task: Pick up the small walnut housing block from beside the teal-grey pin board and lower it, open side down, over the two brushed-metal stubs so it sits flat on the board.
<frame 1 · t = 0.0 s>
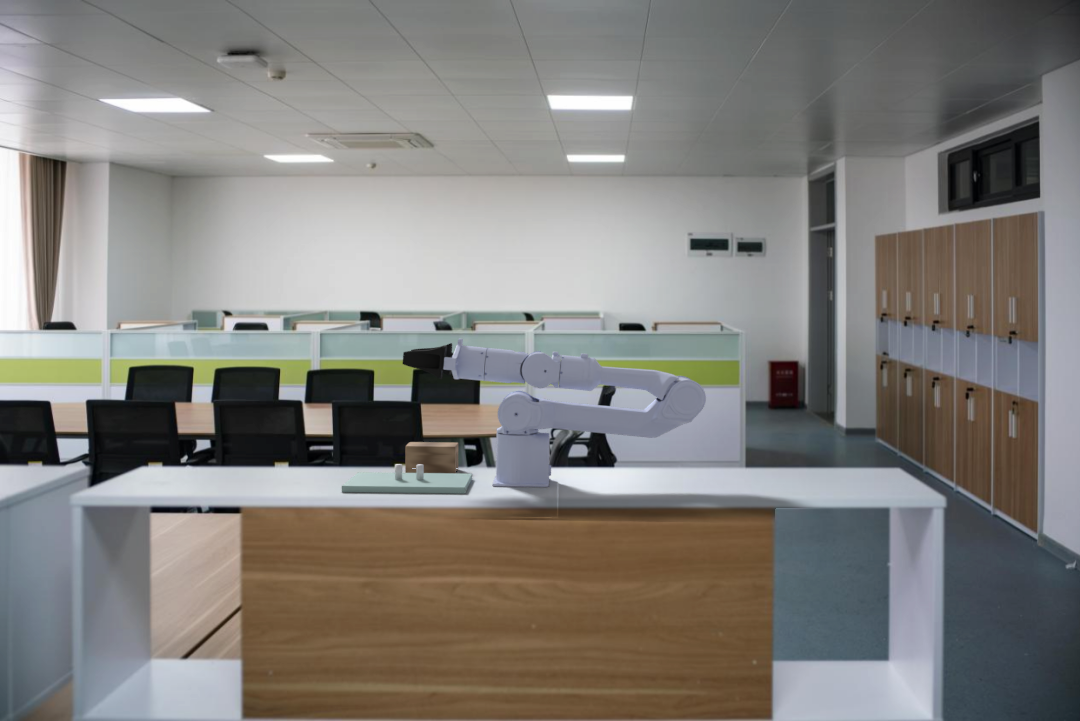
hand: (407, 356, 153), 22 cm above the table, tool horizontal, fingers open, 7 cm apart
pin board: (409, 485, 150), on the table
housing: (432, 471, 163), on the table
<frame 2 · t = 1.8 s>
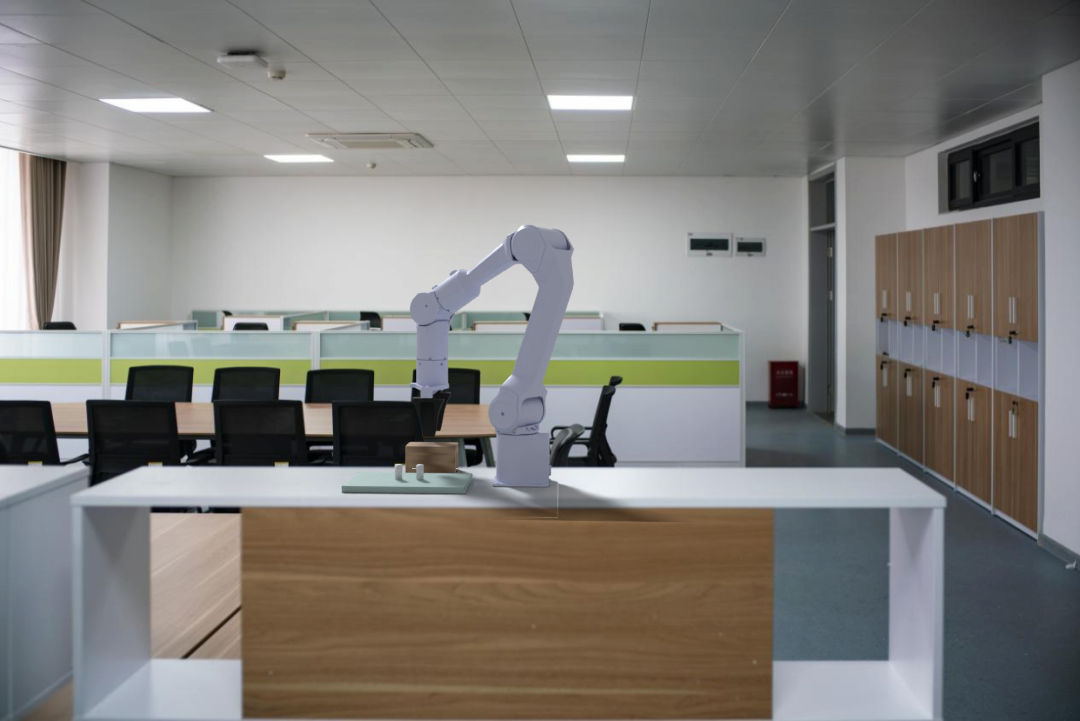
hand: (432, 433, 162), 7 cm above the table, tool pointing down, fingers open, 7 cm apart
nothing on the table moved.
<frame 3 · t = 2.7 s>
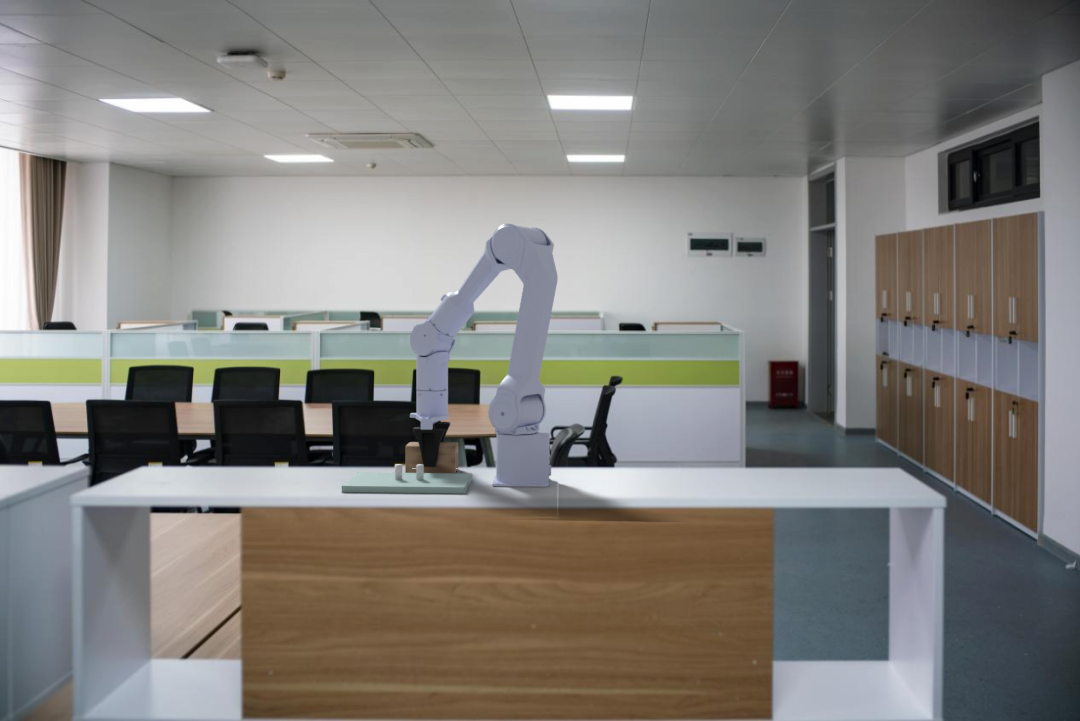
hand: (432, 463, 163), 1 cm above the table, tool pointing down, fingers closed on housing, 5 cm apart
housing: (432, 471, 163), on the table, touching gripper
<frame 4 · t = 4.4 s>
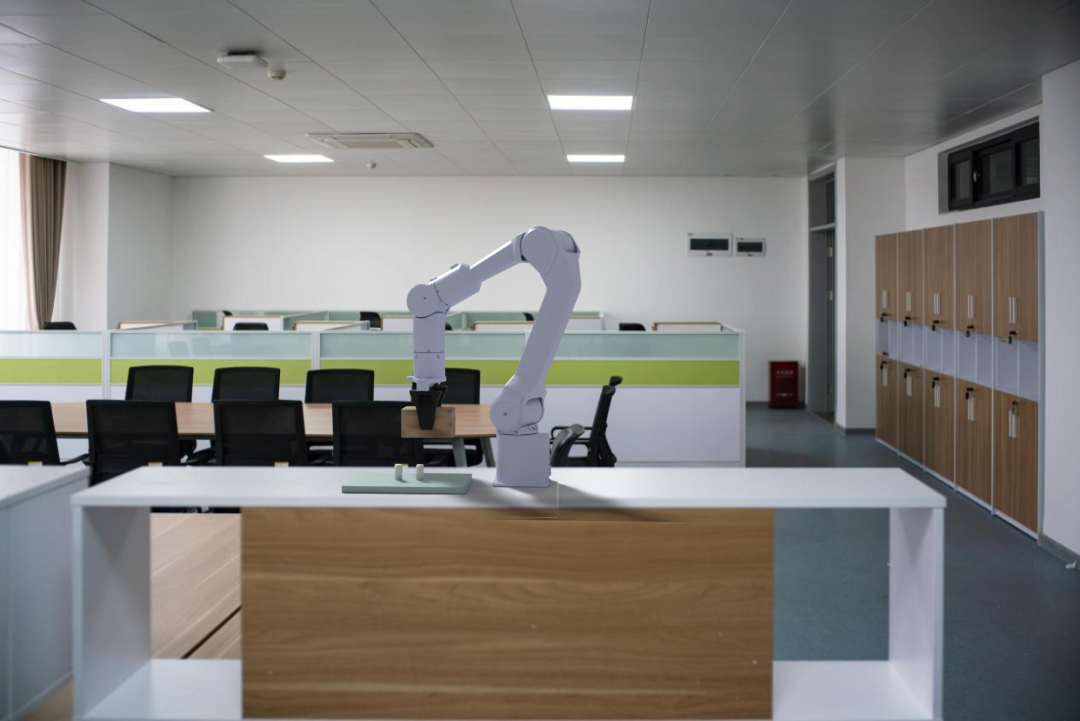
hand: (429, 427, 160), 8 cm above the table, tool pointing down, fingers closed on housing, 5 cm apart
housing: (428, 435, 160), point 7 cm above the table, touching gripper
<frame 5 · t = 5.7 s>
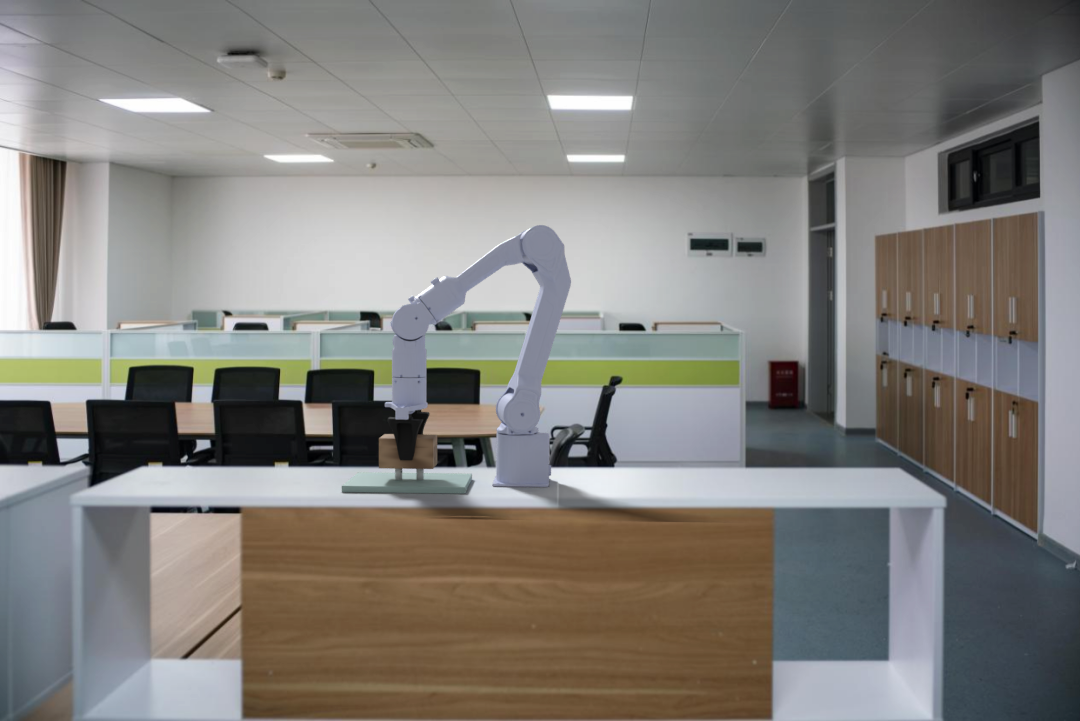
hand: (409, 457, 149), 5 cm above the table, tool pointing down, fingers closed on housing, 5 cm apart
housing: (408, 465, 150), point 3 cm above the table, touching gripper
when the fingers open (4 cm above the table, at t = 6.4 s): housing drops 1 cm, resting on pin board.
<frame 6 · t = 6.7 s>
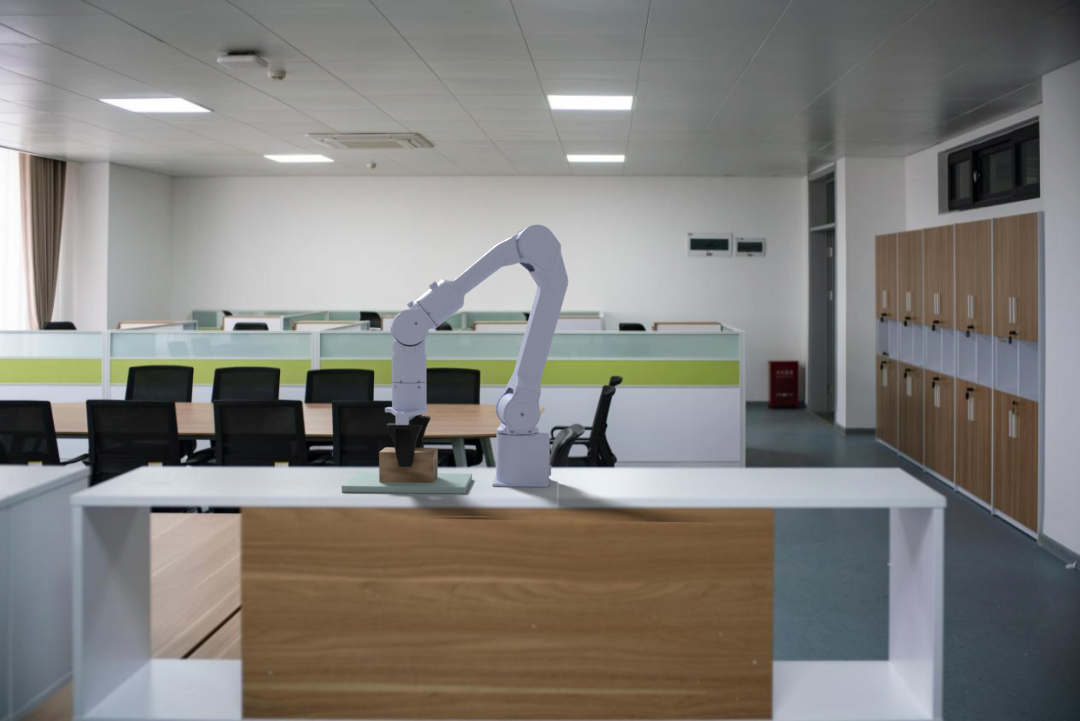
hand: (409, 462, 150), 4 cm above the table, tool pointing down, fingers open, 7 cm apart
housing: (408, 479, 150), point 1 cm above the table, touching pin board
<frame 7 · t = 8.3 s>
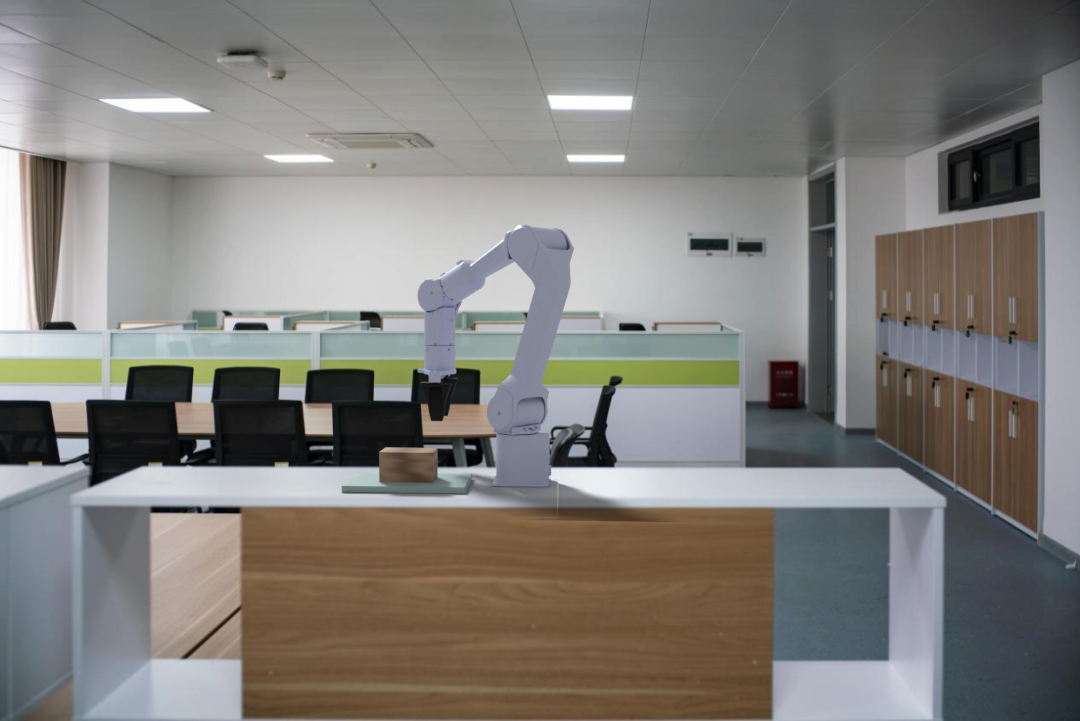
hand: (439, 418, 165), 9 cm above the table, tool pointing down, fingers open, 7 cm apart
nothing on the table moved.
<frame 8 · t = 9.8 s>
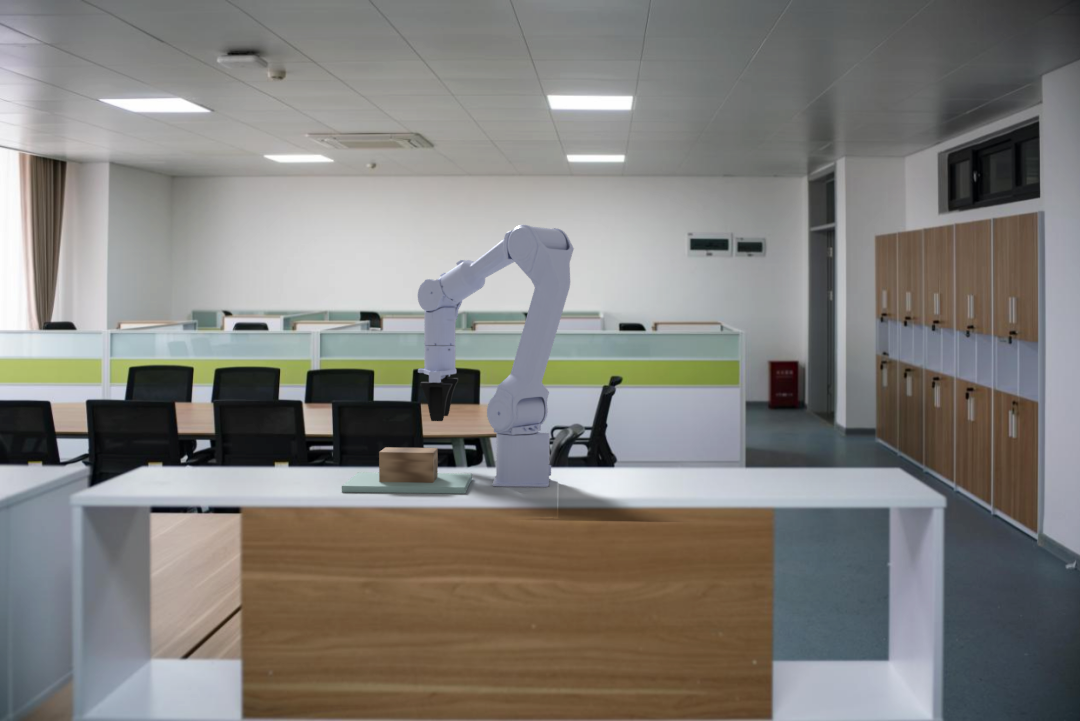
hand: (439, 418, 165), 9 cm above the table, tool pointing down, fingers open, 7 cm apart
nothing on the table moved.
at the end: housing 0.1 cm off-centre on the pin board, point 1.0 cm above the pin board's base; housing tilted 0°; the gripper is holding nothing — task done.
